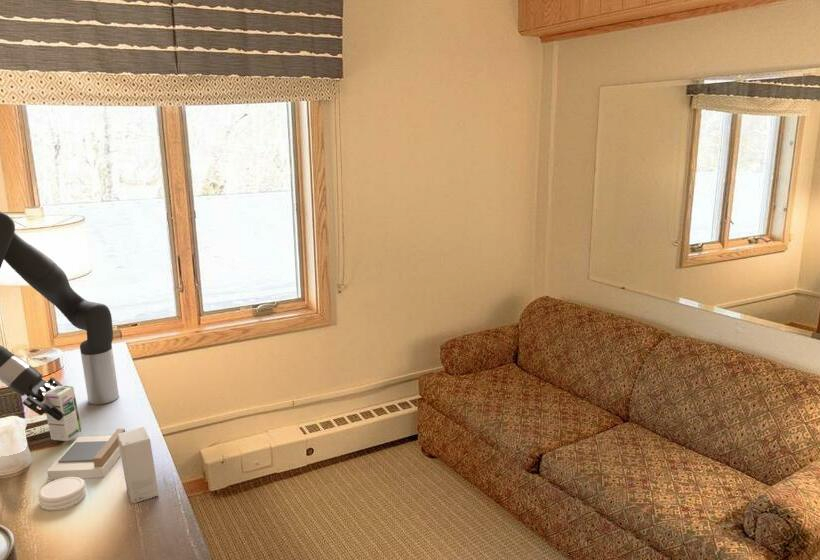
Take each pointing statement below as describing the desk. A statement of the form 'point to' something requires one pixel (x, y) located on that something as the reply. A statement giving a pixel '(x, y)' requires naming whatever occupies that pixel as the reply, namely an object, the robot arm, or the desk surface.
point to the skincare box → (138, 464)
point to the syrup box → (67, 405)
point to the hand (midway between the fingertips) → (68, 412)
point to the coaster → (62, 493)
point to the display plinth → (87, 457)
